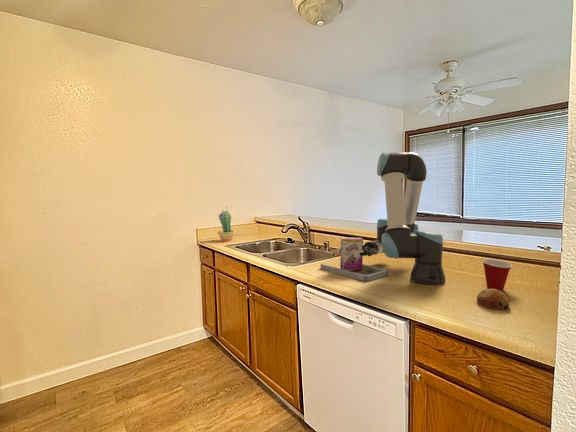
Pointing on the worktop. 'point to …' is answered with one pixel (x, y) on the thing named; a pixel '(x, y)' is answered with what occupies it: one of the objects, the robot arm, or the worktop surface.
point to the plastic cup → (496, 273)
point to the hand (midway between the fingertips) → (346, 253)
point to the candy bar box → (351, 253)
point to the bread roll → (493, 299)
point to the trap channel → (365, 275)
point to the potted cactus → (226, 227)
